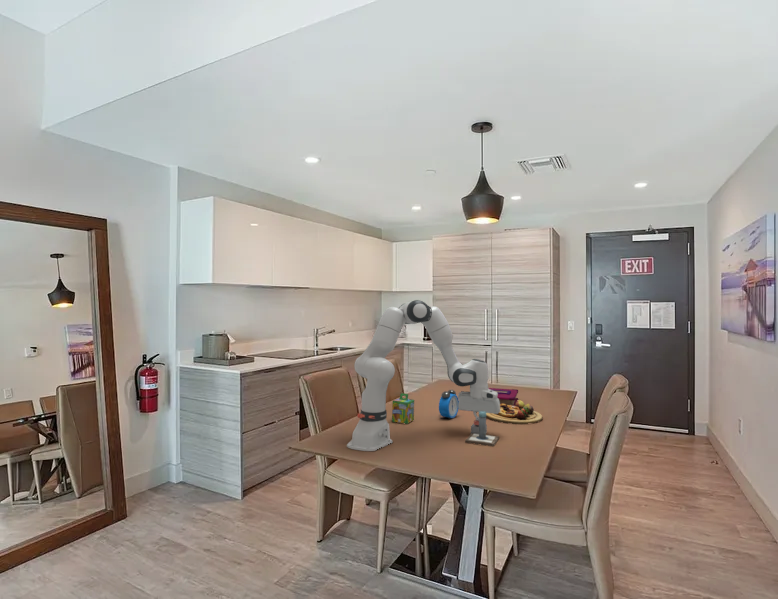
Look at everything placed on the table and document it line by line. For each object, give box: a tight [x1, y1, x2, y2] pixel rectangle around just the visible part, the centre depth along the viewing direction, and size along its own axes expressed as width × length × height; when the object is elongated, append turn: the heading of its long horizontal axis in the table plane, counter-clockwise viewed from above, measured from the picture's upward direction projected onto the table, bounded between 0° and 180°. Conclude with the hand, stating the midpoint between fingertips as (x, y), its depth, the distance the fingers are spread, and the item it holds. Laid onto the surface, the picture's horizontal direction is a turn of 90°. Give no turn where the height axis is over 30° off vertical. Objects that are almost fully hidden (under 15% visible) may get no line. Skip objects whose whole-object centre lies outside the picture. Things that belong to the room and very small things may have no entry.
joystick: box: [478, 411, 487, 439], centre depth 216 cm, size 3×3×12 cm
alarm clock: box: [438, 389, 459, 420], centre depth 258 cm, size 13×6×15 cm, turn 144°
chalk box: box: [391, 392, 415, 425], centre depth 249 cm, size 9×9×15 cm
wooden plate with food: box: [486, 399, 544, 425], centre depth 260 cm, size 32×32×8 cm
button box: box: [470, 423, 488, 435], centre depth 227 cm, size 6×6×4 cm
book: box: [488, 387, 519, 406], centre depth 295 cm, size 21×28×8 cm
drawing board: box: [464, 433, 500, 447], centre depth 216 cm, size 13×13×1 cm
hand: (478, 420), depth 227 cm, fingers closed, pressing on done button
